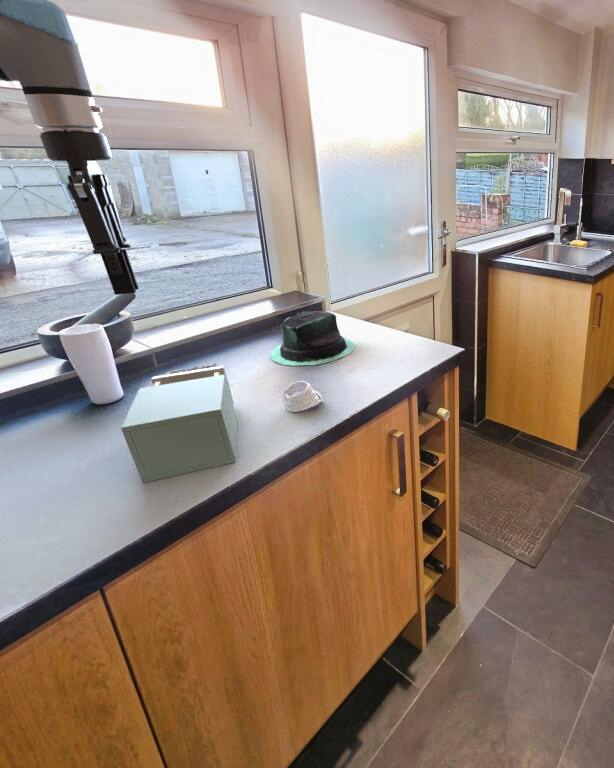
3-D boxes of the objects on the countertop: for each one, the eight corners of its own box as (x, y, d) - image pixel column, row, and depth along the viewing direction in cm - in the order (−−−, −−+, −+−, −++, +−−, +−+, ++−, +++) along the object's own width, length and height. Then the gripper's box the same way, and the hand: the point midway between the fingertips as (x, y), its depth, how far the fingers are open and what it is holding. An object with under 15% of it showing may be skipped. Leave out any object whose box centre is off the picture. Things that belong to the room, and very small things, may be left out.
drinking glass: (125, 389, 104) (100, 321, 98) (132, 399, 100) (105, 328, 94) (85, 399, 100) (55, 329, 94) (90, 410, 96) (59, 337, 89)
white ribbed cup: (330, 406, 99) (329, 383, 97) (303, 418, 93) (301, 394, 91) (302, 395, 102) (301, 373, 100) (274, 406, 96) (271, 383, 94)
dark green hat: (324, 367, 112) (248, 362, 116) (365, 374, 130) (298, 370, 134) (330, 301, 113) (255, 299, 117) (370, 318, 131) (303, 316, 135)
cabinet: (157, 437, 86) (139, 388, 82) (237, 421, 91) (224, 374, 87) (142, 483, 74) (120, 427, 70) (236, 462, 79) (220, 409, 75)
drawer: (168, 405, 96) (155, 368, 92) (234, 393, 100) (224, 357, 97) (154, 450, 81) (138, 408, 78) (231, 434, 86) (220, 393, 82)
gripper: (90, 129, 67) (146, 299, 77) (114, 133, 79) (160, 279, 89) (18, 128, 64) (86, 305, 74) (55, 132, 76) (109, 284, 86)
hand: (127, 291), depth 81 cm, fingers closed
